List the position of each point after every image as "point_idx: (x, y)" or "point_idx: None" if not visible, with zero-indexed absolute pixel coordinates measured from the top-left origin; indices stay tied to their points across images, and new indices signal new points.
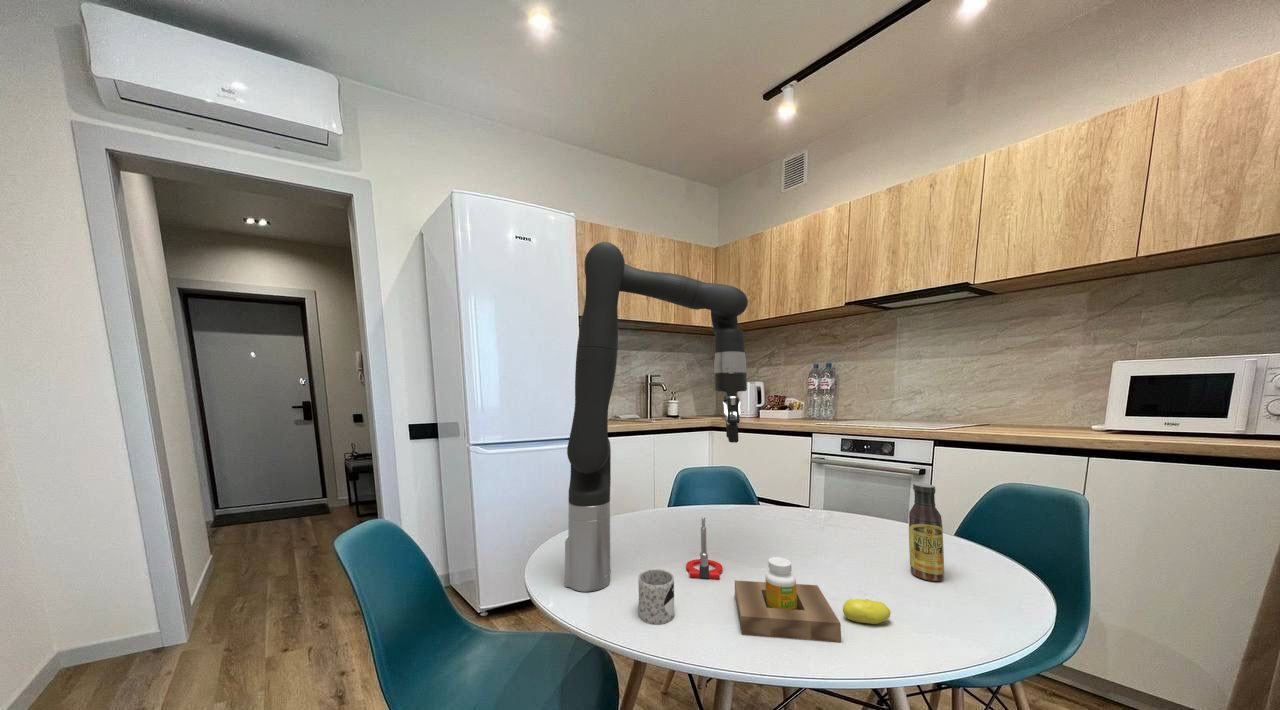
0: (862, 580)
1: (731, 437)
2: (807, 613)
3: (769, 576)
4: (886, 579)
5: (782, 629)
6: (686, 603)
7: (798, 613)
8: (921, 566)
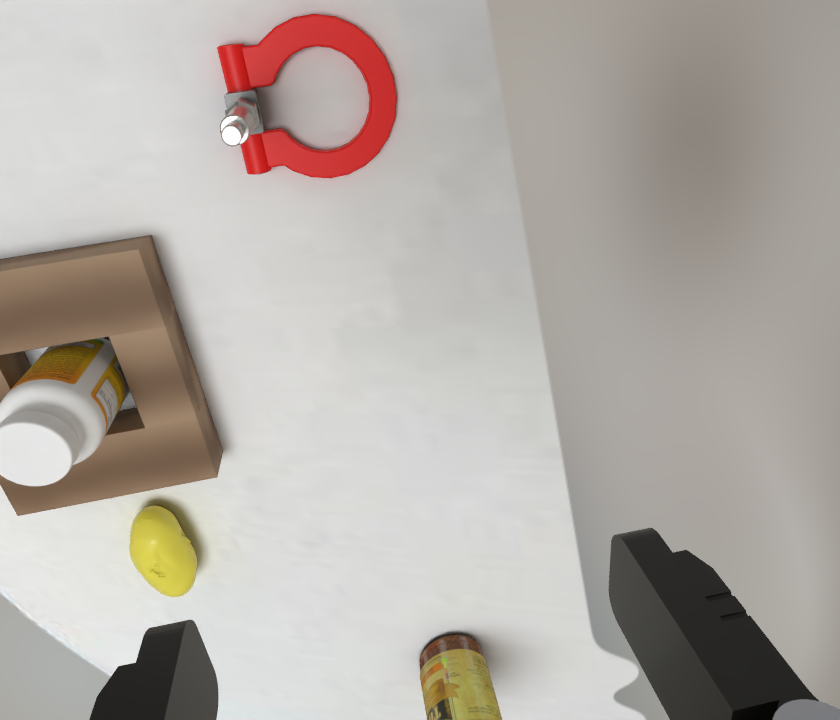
0: (388, 545)
1: (97, 711)
2: None
3: (9, 401)
4: (409, 587)
5: None
6: (12, 67)
7: None
8: (428, 672)
